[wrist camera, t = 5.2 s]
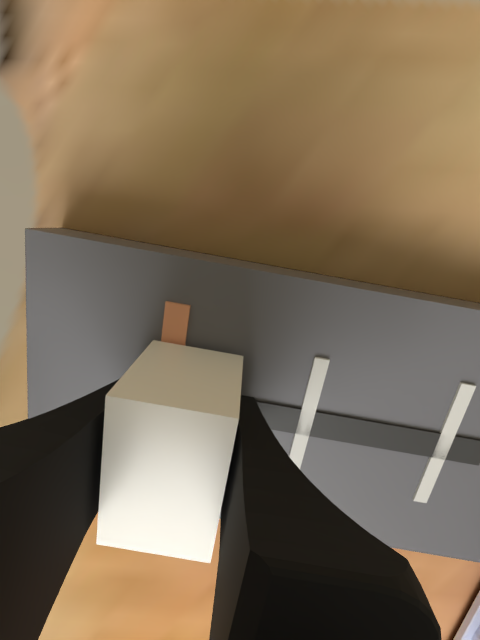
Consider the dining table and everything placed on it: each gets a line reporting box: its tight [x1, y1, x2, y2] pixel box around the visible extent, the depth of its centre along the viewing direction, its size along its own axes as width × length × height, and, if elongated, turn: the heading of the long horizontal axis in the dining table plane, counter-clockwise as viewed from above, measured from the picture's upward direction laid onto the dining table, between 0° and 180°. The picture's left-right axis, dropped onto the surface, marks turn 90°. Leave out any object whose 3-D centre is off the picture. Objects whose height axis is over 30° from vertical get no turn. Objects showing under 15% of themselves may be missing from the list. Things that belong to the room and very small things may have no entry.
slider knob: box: [96, 340, 243, 563], centre depth 10 cm, size 3×4×4 cm
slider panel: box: [25, 228, 480, 562], centre depth 13 cm, size 20×10×2 cm, turn 80°
